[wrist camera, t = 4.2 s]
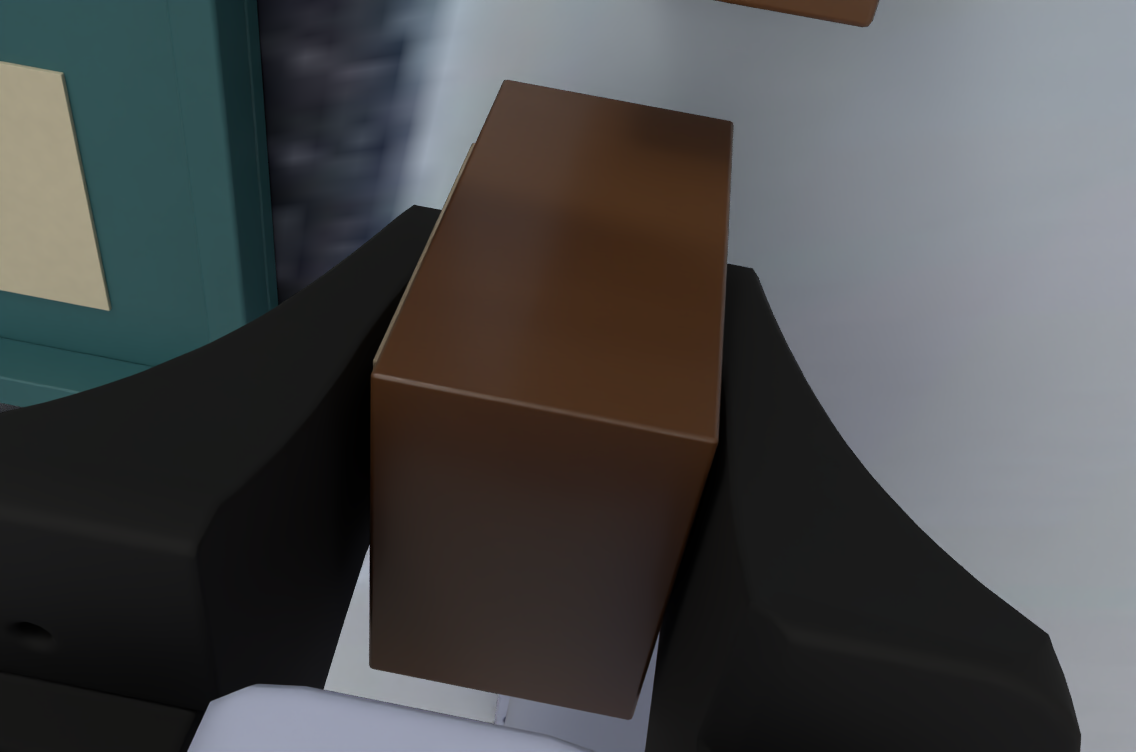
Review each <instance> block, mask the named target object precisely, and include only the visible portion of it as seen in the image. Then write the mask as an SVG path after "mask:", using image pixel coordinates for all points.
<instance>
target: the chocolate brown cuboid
mask: <svg viewBox="0 0 1136 752" xmlns="http://www.w3.org/2000/svg"><path fill="white" fill-rule="evenodd" d="M733 130H734V125H733V122H731V121H727V120H722V119H717V118H711V117H706V116H700V115H695V114H689V113H684V112H679V111H673V110H668V109H662V108H657V107H652V106H646V105H641V104H635V103H630V102H625V101H619V100H614V99H608V98H603V97H598V96H592V95H587V94H581V93H576V92H571V91H565V90H560V89H554V88H549V87H544V86H538V85H533V84H527V83H522V82H517V81H511V80H504V81H503V83H502V85H501V88H500V90H499V92H498V94H497V96H496V99H495V101H494V103H493V105H492V107H491V110H490V112H489V114H488V116H487V118H486V121H485V123H484V125H483V127H482V130H481V132H480V134H479V136H478V138H477V141H476V143H472V145H471V147H470V149H469V152H468V154H467V156H466V158H465V160H464V163H463V165H462V167H461V169H460V171H459V174H458V176H457V178H456V180H455V182H454V184H453V187H452V189H451V191H450V193H449V195H448V198H447V200H446V202H445V204H444V206H443V209H442V211H441V213H440V215H439V217H438V220H437V222H436V224H435V226H434V228H433V230H432V233H431V235H430V237H429V239H428V241H427V244H426V246H425V248H424V250H423V252H422V255H421V257H420V259H419V261H418V263H417V266H416V268H415V270H414V272H413V274H412V276H411V279H410V281H409V283H408V285H407V287H406V290H405V292H404V294H403V296H402V298H401V301H400V303H399V305H398V307H397V309H396V312H395V314H394V316H393V318H392V320H391V322H390V325H389V327H388V329H387V331H386V333H385V336H384V338H383V340H382V342H381V344H380V347H379V349H378V351H377V353H376V355H375V358H374V360H373V371H372V373H371V402H370V603H369V665H370V668H372V669H376V670H381V671H386V672H391V673H396V674H401V675H406V676H411V677H416V678H421V679H426V680H431V681H436V682H441V683H446V684H451V685H456V686H461V687H466V688H471V689H476V690H481V691H486V692H491V693H496V694H500V695H505V696H510V697H515V698H520V699H525V700H530V701H535V702H540V703H545V704H550V705H555V706H560V707H565V708H570V709H575V710H580V711H585V712H590V713H595V714H600V715H605V716H610V717H615V718H620V719H625V720H631V719H632V717H633V715H634V712H635V709H636V706H637V702H638V699H639V696H640V693H641V690H642V686H643V683H644V680H645V677H646V673H647V670H648V667H649V664H650V661H651V657H652V654H653V651H654V648H655V645H656V641H657V638H658V635H659V632H660V629H661V625H662V622H663V619H664V616H665V613H666V609H667V606H668V603H669V600H670V596H671V593H672V590H673V587H674V584H675V580H676V577H677V574H678V571H679V568H680V564H681V561H682V558H683V555H684V552H685V548H686V545H687V542H688V539H689V536H690V532H691V529H692V526H693V523H694V520H695V516H696V513H697V510H698V507H699V503H700V500H701V497H702V494H703V491H704V487H705V484H706V481H707V478H708V475H709V471H710V468H711V465H712V462H713V459H714V455H715V452H716V449H717V446H718V443H719V423H720V402H721V381H722V360H723V339H724V318H725V297H726V276H727V255H728V234H729V213H730V192H731V171H732V151H733Z"/></svg>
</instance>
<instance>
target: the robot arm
mask: <svg viewBox="0 0 1136 752" xmlns="http://www.w3.org/2000/svg"><path fill="white" fill-rule="evenodd" d="M441 211H442V210H439V209H433V208H428V207H423V206H417V205H413V206H412V207H410V208H409V209H407V210H406V211H404V212H403V213H402V214H401V215H399V216H398V217H397V218H396V219H394V220H393V221H392V222H391V223H390V224H388V225H387V226H386V227H385V228H383V229H382V230H381V231H380V232H379V233H377V234H376V235H375V236H374V237H372V238H371V239H370V240H369V241H367V242H366V243H365V244H364V245H362V246H361V247H360V248H359V249H357V250H356V251H355V252H354V253H352V254H351V255H350V256H348V257H347V258H346V259H344V260H343V261H342V262H340V263H339V264H337V265H336V266H335V267H333V268H332V269H331V270H329V271H328V272H327V273H325V274H324V275H323V276H321V277H320V278H319V279H317V280H316V281H314V282H313V283H312V284H310V285H309V286H307V287H306V288H304V289H302V290H301V291H299V292H298V293H296V294H295V295H293V296H292V297H290V298H289V299H287V300H286V301H284V302H283V303H281V304H280V305H278V306H277V307H275V308H273V309H272V310H270V311H269V312H267V313H265V314H264V315H262V316H260V317H259V318H257V319H255V320H253V321H251V322H250V323H248V324H246V325H244V326H242V327H240V328H238V329H236V330H234V331H232V332H230V333H229V334H227V335H225V336H223V337H221V338H219V339H217V340H215V341H213V342H211V343H209V344H206V345H204V346H202V347H200V348H197V349H195V350H193V351H190V352H188V353H185V354H183V355H181V356H178V357H176V358H173V359H171V360H169V361H166V362H164V363H161V364H159V365H157V366H154V367H152V368H149V369H147V370H145V371H142V372H139V373H137V374H134V375H131V376H128V377H125V378H122V379H119V380H117V381H114V382H111V383H108V384H105V385H102V386H99V387H95V388H92V389H89V390H86V391H82V392H79V393H76V394H73V395H69V396H66V397H62V398H59V399H55V400H51V401H48V402H44V403H40V404H36V405H31V406H27V407H23V408H18V409H14V410H10V411H6V412H1V413H0V752H1080V744H1081V733H1080V729H1079V726H1078V722H1077V718H1076V714H1075V710H1074V706H1073V702H1072V698H1071V695H1070V692H1069V689H1068V686H1067V683H1066V679H1065V676H1064V673H1063V671H1062V668H1061V666H1060V664H1059V661H1058V659H1057V656H1056V654H1055V651H1054V649H1053V646H1052V643H1051V640H1050V637H1049V635H1048V634H1047V633H1046V632H1044V631H1043V630H1042V629H1041V628H1039V627H1038V626H1037V625H1035V624H1034V623H1033V622H1031V621H1030V620H1029V619H1027V618H1026V617H1025V616H1023V615H1022V614H1021V613H1020V612H1018V611H1017V610H1016V609H1014V608H1013V607H1012V606H1010V605H1009V604H1008V603H1006V602H1005V601H1004V600H1002V599H1001V598H1000V597H998V596H997V595H996V594H995V593H993V592H992V591H991V590H989V589H988V588H987V587H985V586H984V585H983V584H982V583H980V582H979V581H978V580H977V579H976V578H974V577H973V576H972V575H971V574H970V573H969V572H968V571H966V570H965V569H964V568H963V567H962V566H961V565H960V564H958V563H957V562H956V561H955V560H954V559H953V558H952V557H951V556H949V555H948V554H947V553H946V552H945V551H944V550H943V549H942V548H940V547H939V546H938V545H937V544H936V543H935V542H934V541H933V540H932V539H931V538H930V537H929V536H928V535H927V534H926V533H925V532H924V531H923V530H922V529H921V528H920V527H918V525H917V524H916V523H915V522H914V521H913V520H912V519H911V518H910V517H909V516H908V515H907V514H906V513H905V512H904V511H903V510H902V509H901V508H900V507H899V505H898V504H897V503H896V502H895V501H894V500H893V499H892V498H891V497H890V496H889V495H888V494H887V493H886V492H885V490H884V489H883V488H882V487H881V486H880V485H879V484H878V482H877V481H876V480H875V479H874V478H873V477H872V475H871V474H870V473H869V472H868V471H867V469H866V468H865V467H864V465H863V464H862V463H861V462H860V460H859V459H858V458H857V456H856V455H855V454H854V453H853V451H852V450H851V449H850V447H849V446H848V445H847V444H846V442H845V441H844V439H843V438H842V436H841V435H840V434H839V432H838V431H837V429H836V428H835V426H834V425H833V423H832V422H831V420H830V418H829V417H828V415H827V414H826V412H825V410H824V409H823V407H822V406H821V404H820V402H819V401H818V399H817V398H816V396H815V394H814V393H813V391H812V389H811V387H810V386H809V384H808V382H807V380H806V379H805V377H804V375H803V373H802V371H801V369H800V367H799V365H798V364H797V362H796V360H795V358H794V356H793V354H792V352H791V350H790V349H789V347H788V344H787V342H786V340H785V338H784V336H783V334H782V332H781V330H780V328H779V326H778V323H777V321H776V319H775V317H774V315H773V312H772V310H771V308H770V305H769V303H768V301H767V298H766V296H765V293H764V291H763V288H762V285H761V283H760V280H759V278H758V276H757V274H756V273H755V271H754V270H753V268H748V267H742V266H737V265H732V264H727V276H726V297H725V318H724V339H723V360H722V381H721V402H720V423H719V443H718V446H717V449H716V452H715V455H714V459H713V462H712V465H711V468H710V471H709V475H708V478H707V481H706V484H705V487H704V491H703V494H702V497H701V500H700V503H699V507H698V510H697V513H696V516H695V520H694V523H693V526H692V529H691V532H690V536H689V539H688V542H687V545H686V548H685V552H684V555H683V558H682V561H681V564H680V568H679V571H678V574H677V577H676V580H675V584H674V587H673V590H672V593H671V596H670V600H669V603H668V606H667V609H666V613H665V616H664V619H663V622H662V625H661V629H660V632H659V635H658V638H657V641H656V645H655V648H654V651H653V654H652V657H651V661H650V664H649V667H648V670H647V673H646V677H645V680H644V683H643V686H642V690H641V693H640V696H639V699H638V702H637V706H636V709H635V712H634V715H633V717H632V719H631V720H625V719H620V718H615V717H610V716H605V715H600V714H595V713H590V712H585V711H580V710H575V709H570V708H565V707H560V706H555V705H550V704H545V703H540V702H535V701H530V700H525V699H520V698H515V697H510V696H505V695H500V694H498V700H497V707H496V713H495V720H494V724H492V723H487V722H482V721H477V720H472V719H467V718H462V717H457V716H452V715H447V714H442V713H438V712H433V711H428V710H423V709H418V708H413V707H408V706H403V705H398V704H393V703H388V702H383V701H378V700H373V699H368V698H363V697H358V696H353V695H348V694H343V693H338V692H333V691H328V690H323V689H324V686H325V682H326V679H327V676H328V673H329V669H330V666H331V663H332V659H333V656H334V653H335V650H336V646H337V643H338V640H339V637H340V633H341V630H342V627H343V624H344V620H345V617H346V614H347V611H348V608H349V605H350V601H351V598H352V595H353V592H354V589H355V586H356V583H357V580H358V577H359V573H360V570H361V567H362V564H363V561H364V558H365V555H366V552H367V550H368V547H369V545H370V402H371V373H372V371H373V360H374V358H375V355H376V353H377V351H378V349H379V347H380V344H381V342H382V340H383V338H384V336H385V333H386V331H387V329H388V327H389V325H390V322H391V320H392V318H393V316H394V314H395V312H396V309H397V307H398V305H399V303H400V301H401V298H402V296H403V294H404V292H405V290H406V287H407V285H408V283H409V281H410V279H411V276H412V274H413V272H414V270H415V268H416V266H417V263H418V261H419V259H420V257H421V255H422V252H423V250H424V248H425V246H426V244H427V241H428V239H429V237H430V235H431V233H432V230H433V228H434V226H435V224H436V222H437V220H438V217H439V215H440V213H441Z"/></svg>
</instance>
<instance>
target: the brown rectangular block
mask: <svg viewBox="0 0 1136 752" xmlns="http://www.w3.org/2000/svg"><path fill="white" fill-rule="evenodd" d="M715 1H720V2H726V3H731V4H737V5H742V6H748V7H753V8H759V9H764V10H770V11H775V12H781V13H786V14H792V15H797V16H803V17H808V18H814V19H819V20H825V21H831V22H836V23H842V24H847V25H853V26H858V27H868V26H869V25H870V24H871V22H872V21H873V19H874V16H875V12H876V9H877V6H878V3H879V0H715Z"/></svg>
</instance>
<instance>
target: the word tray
mask: <svg viewBox="0 0 1136 752" xmlns="http://www.w3.org/2000/svg"><path fill="white" fill-rule="evenodd" d="M0 61H3V62H8V63H14V64H19V65H25V66H30V67H35V68H41V69H46V70H52V71H57V72H62V73H64V77H65V82H66V87H67V92H68V97H69V102H70V106H71V111H72V116H73V121H74V126H75V131H76V136H77V141H78V146H79V151H80V156H81V161H82V166H83V170H84V175H85V180H86V185H87V190H88V195H89V200H90V205H91V210H92V215H93V220H94V225H95V229H96V234H97V239H98V244H99V249H100V254H101V259H102V264H103V269H104V274H105V279H106V284H107V288H108V293H109V298H110V303H111V310H110V311H107V310H102V309H97V308H92V307H86V306H81V305H76V304H71V303H65V302H60V301H55V300H50V299H45V298H39V297H34V296H29V295H24V294H18V293H13V292H8V291H3V290H0V403H4V404H9V405H14V406H19V407H27V406H31V405H36V404H40V403H44V402H48V401H51V400H55V399H59V398H62V397H66V396H69V395H73V394H76V393H79V392H82V391H86V390H89V389H92V388H95V387H99V386H102V385H105V384H108V383H111V382H114V381H117V380H119V379H122V378H125V377H128V376H131V375H134V374H137V373H139V372H142V371H145V370H147V369H149V368H152V367H154V366H157V365H159V364H161V363H164V362H166V361H169V360H171V359H173V358H176V357H178V356H181V355H183V354H185V353H188V352H190V351H193V350H195V349H197V348H200V347H202V346H204V345H206V344H209V343H211V342H213V341H215V340H217V339H219V338H221V337H223V336H225V335H227V334H229V333H230V332H232V331H234V330H236V329H238V328H240V327H242V326H244V325H246V324H248V323H250V322H251V321H253V320H255V319H257V318H259V317H260V316H262V315H264V314H265V313H267V312H269V311H270V310H272V309H273V308H275V307H277V306H278V295H277V281H276V267H275V253H274V239H273V225H272V210H271V196H270V182H269V168H268V154H267V140H266V126H265V111H264V97H263V83H262V69H261V55H260V41H259V27H258V13H257V0H0Z"/></svg>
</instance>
